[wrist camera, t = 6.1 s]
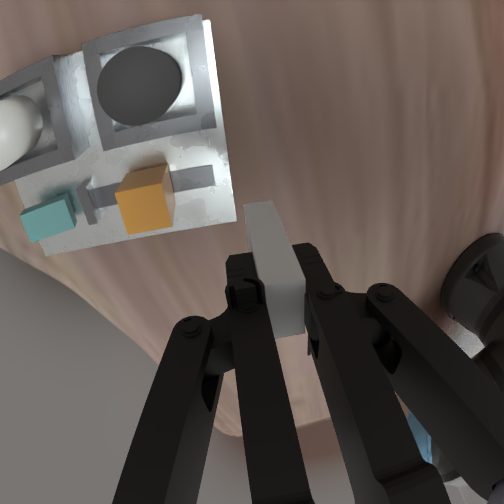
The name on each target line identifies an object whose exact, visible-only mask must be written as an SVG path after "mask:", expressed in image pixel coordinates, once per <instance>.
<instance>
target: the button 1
mask: <svg viewBox="0 0 504 504" xmlns="http://www.w3.org/2000/svg"><path fill="white" fill-rule="evenodd" d="M42 128H43V120H42V114H41V111H40V109H39V107H38V105H37V104H36V103H35V102H34V101H33V100H32V99H31V98H29V97H27V96H24V95H17V96H13V97H10V98H7V99H4V100H1V101H0V171H1V170H3V169H5V168H7V167H8V166H9V165H11V164H12V163H14V162H15V161H16V160H18V159H19V158H21V157H22V156H23V155H25V154H26V153H28V152H29V151H31V150H32V149H33V148H34V147H35V146H36V144H37V143H38V141H39V139H40V137H41V133H42Z"/></svg>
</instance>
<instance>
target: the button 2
mask: <svg viewBox="0 0 504 504" xmlns="http://www.w3.org/2000/svg"><path fill="white" fill-rule="evenodd" d="M181 87H182V72H181V69H180V66H179V65H178V63H177V61H176V60H175V59H174V58H173V57H172V56H171V55H169V54H168V53H166V52H164V51H161V50H158V49H155V48H151V47H146V46H135V47H130V48H127V49H124V50H122V51H120V52H118V53H117V54H115V55H114V56H113V57H112V58H111V59H110V60H109V61H108V62H107V63H106V64H105V66H104V67H103V69H102V71H101V73H100V75H99V78H98V83H97V96H98V100H99V103H100V105H101V107H102V109H103V110H104V112H105V113H106V114H107V115H108V116H109V117H110V118H111V119H113V120H114V121H116V122H118V123H121V124H124V125H130V126H139V125H144V124H148V123H150V122H153V121H155V120H156V119H158V118H159V117H161V116H162V115H163V114H164V113H165V112H166V111H167V110H168V109H169V108H170V106H171V105H172V104H173V103H174V101H175V100H176V98H177V97H178V95H179V93H180V90H181Z"/></svg>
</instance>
